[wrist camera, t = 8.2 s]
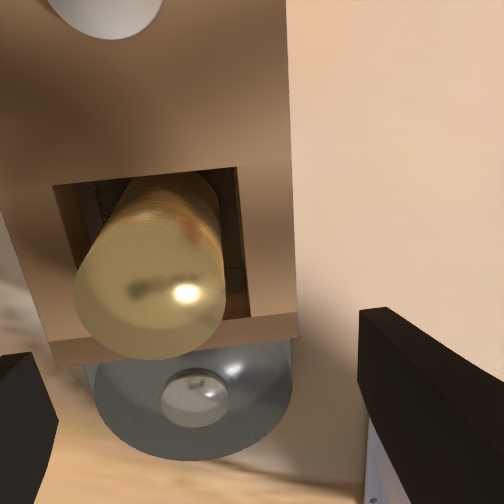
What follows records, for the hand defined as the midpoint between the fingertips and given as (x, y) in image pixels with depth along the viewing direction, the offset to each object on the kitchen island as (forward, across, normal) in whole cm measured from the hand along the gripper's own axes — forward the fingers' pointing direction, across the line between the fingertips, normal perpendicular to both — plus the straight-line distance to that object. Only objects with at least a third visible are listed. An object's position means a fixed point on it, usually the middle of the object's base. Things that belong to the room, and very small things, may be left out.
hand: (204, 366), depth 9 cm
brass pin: (+9, +1, 0) cm, 10 cm away
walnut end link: (+9, +1, -5) cm, 10 cm away
